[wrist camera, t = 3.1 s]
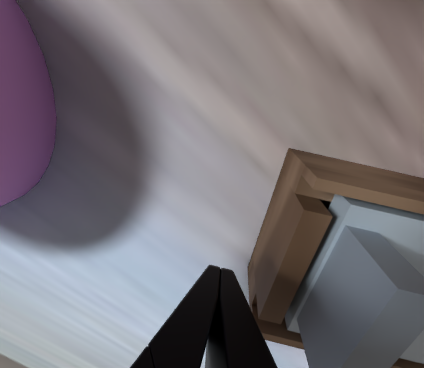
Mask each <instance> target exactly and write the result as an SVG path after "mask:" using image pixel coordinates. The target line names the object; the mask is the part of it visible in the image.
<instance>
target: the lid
mask: <svg viewBox="0 0 424 368" xmlns="http://www.w3.org/2000/svg"><path fill="white" fill-rule="evenodd" d="M328 211H329V212H330V214H331V215H332V216H333V217H332V219H331V221H330V223H329V226H328V228H327V230H326V232H325V234H324V236H323V238H322V240H321V242H320V244H319V246H318V248H317V250H316V252H315V255H314V257H313V259H312V261H311V263H310V265H309V267H308V269H307V271H306V273H305V275H304V277H303V279H302V281H301V284H300V286H299V288H298V290H297V292H296V294H295V296H294V298H293V300H292V302H291V304H290V306H289V308H288V310H287V313H286V315H285V322H286V326H287V330H289V331H293V332H297V333H300V334H301V338H302V342H303V346H304V350H305V354H306V357H307V361H308V365H309V368H391V367H392V365H393V364H394V363H395V362H396V361H397V360H398V359H399V358H402V359H406V360H410V361H414V362H418V363H422V364H424V214H419V213H415V212H411V211H406V210H402V209H398V208H393V207H389V206H385V205H380V204H376V203H372V202H367V201H363V200H358V199H354V198H350V197H345V196H341V195H337V194H335V195H334V197H333V199H332V202H331V204H330V206H329V208H328Z"/></svg>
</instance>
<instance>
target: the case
mask: <svg viewBox="0 0 424 368" xmlns="http://www.w3.org/2000/svg"><path fill="white" fill-rule="evenodd" d="M335 194H337V195H341V196H345V197H350V198H354V199H358V200H363V201H367V202H372V203H376V204H380V205H385V206H389V207H393V208H398V209H402V210H406V211H411V212H415V213H419V214H424V178H420V177H415V176H411V175H406V174H402V173H397V172H393V171H389V170H384V169H380V168H375V167H371V166H366V165H362V164H357V163H353V162H348V161H344V160H340V159H335V158H331V157H326V156H322V155H317V154H313V153H308V152H304V151H300V150H295V149H291V148H289V149H288V152H287V155H286V158H285V160H284V163H283V166H282V169H281V172H280V175H279V178H278V181H277V184H276V187H275V190H274V192H273V195H272V198H271V201H270V204H269V207H268V210H267V213H266V216H265V219H264V222H263V224H262V227H261V230H260V233H259V236H258V239H257V242H256V245H255V248H254V251H253V254H252V256H251V259H250V262H249V265H248V285H249V304H250V309H251V311H252V313H253V315H254V318H255V320H256V322H257V324H258V326H259V329H260V331H261V333H262V335H263V337H264V339H265V340H268V341H272V342H276V343H280V344H284V345H288V346H292V347H296V348H300V349H304V346H303V342H302V338H301V334H300V333H297V332H293V331H289V330H287V326H286V322H285V315H286V313H287V310H288V308H289V306H290V304H291V302H292V300H293V298H294V296H295V294H296V292H297V290H298V288H299V286H300V284H301V281H302V279H303V277H304V275H305V273H306V271H307V269H308V267H309V265H310V263H311V261H312V259H313V257H314V255H315V252H316V250H317V248H318V246H319V244H320V242H321V240H322V238H323V236H324V234H325V232H326V230H327V228H328V226H329V223H330V221H331V219H332V217H333V216H332V215H331V214H330V212H329V211H328V208H329V206H330V204H331V202H332V199H333V197H334V195H335ZM391 368H424V364H422V363H418V362H414V361H410V360H406V359H402V358H399V359H398V360H397V361H396V362H395V363H394V364H393V365H392V367H391Z"/></svg>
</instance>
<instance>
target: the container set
mask: <svg viewBox="0 0 424 368" xmlns="http://www.w3.org/2000/svg"><path fill="white" fill-rule="evenodd" d="M56 120H57V118H56V110H55V101H54V93H53V87H52V83H51V80H50V76H49V73H48V69H47V66H46V62H45V59H44V56H43V53H42V51H41V49H40V47H39V44H38V42H37V40H36V38H35V35H34V33H33V31H32V29H31V26H30V24H29V22H28V20H27V18H26V17H25V15H24V14H23V12H22V10H21V9H20V7H19V5H18V4H17V2H16V1H15V0H0V206H2V205H5V204H7V203H9V202H11V201H13V200H15V199H17V198H19V197H21V196H23V195H25V194H26V193H27V192H28V191H29V190H30V189H32V188H33V187H34V186H35V185H36V184H37V183H38V182H39V180H40V179H41V177H42V175H43V174H44V172H45V170H46V169H47V167H48V165H49V162H50V159H51V155H52V152H53V149H54V145H55V134H56Z"/></svg>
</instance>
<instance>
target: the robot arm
mask: <svg viewBox="0 0 424 368" xmlns="http://www.w3.org/2000/svg"><path fill="white" fill-rule="evenodd" d="M206 344H207V345H206ZM205 348H206V361H205V368H277V366H276V363H275V361H274V359H273V357H272V355H271V353H270V350H269V348H268V346H267V344H266V342H265V339H264V337H263V335H262V333H261V331H260V329H259V326H258V324H257V322H256V320H255V318H254V315H253V313H252V311H251V309H250V307H249V305H248V302H247V300H246V298H245V296H244V294H243V292H242V289H241V287H240V285H239V283H238V281H237V278H236V276H235V274H234V272H233V271H232V270H230V269H226V268H221V269H220V267H217V266H213V265H209V266H208V267H207V268H206V269H205V271H204V272H203V273H202V275H201V276H200V277H199V279H198V280H197V281H196V283H195V284H194V285H193V286H192V288H191V289H190V290H189V292H188V293H187V294H186V296H185V297H184V298H183V300H182V301H181V302H180V303H179V305H178V306H177V307H176V309H175V310H174V311H173V313H172V314H171V315H170V317H169V318H168V319H167V320H166V322H165V323H164V324H163V326H162V327H161V328H160V330H159V331H158V332H157V333H156V335H155V336H154V337H153V339H152V340H151V341H150V343H149V344H148V346H147V347H146V348H145V349H144V350H143V352H142V353H141V354H140V355H139V357H138V358H137V359H136V361H135V362H134V363H133V364H132V366H131V367H130V368H200V367H201V363H202V359H203V355H204V352H205Z"/></svg>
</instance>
